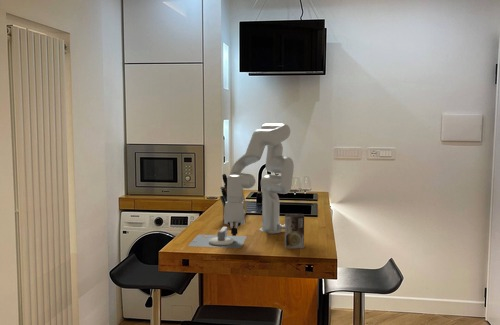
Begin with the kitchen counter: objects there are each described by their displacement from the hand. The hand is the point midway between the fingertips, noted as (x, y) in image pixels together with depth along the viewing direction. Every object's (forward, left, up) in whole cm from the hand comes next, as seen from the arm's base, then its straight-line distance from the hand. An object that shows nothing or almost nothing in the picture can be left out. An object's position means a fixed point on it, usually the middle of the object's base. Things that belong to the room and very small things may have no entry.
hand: (234, 235), depth 257 cm
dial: (+6, +3, -2) cm, 7 cm away
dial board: (+8, +3, -4) cm, 9 cm away
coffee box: (-30, +3, -4) cm, 31 cm away
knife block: (+9, -60, -4) cm, 61 cm away
